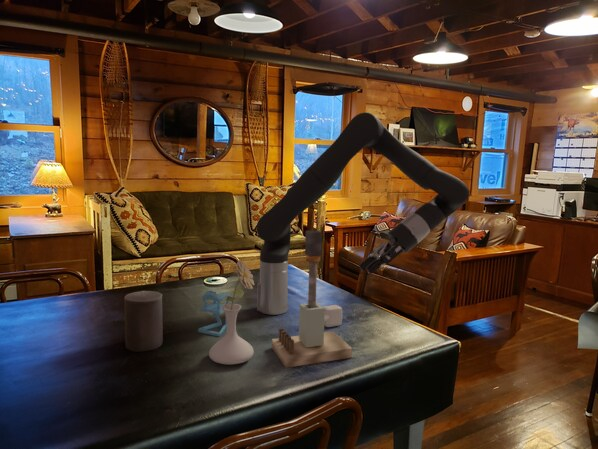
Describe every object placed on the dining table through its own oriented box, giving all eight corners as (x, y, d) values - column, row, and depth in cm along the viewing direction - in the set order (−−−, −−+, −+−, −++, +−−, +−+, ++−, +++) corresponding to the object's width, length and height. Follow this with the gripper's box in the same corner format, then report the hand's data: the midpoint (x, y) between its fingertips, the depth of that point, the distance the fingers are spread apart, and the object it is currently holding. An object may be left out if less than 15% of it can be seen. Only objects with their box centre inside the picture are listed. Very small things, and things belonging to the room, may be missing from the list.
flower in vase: (234, 373, 106) (233, 271, 102) (199, 361, 112) (197, 264, 108) (266, 353, 117) (267, 260, 113) (233, 343, 123) (232, 254, 119)
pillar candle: (127, 354, 115) (126, 298, 113) (123, 340, 123) (121, 288, 121) (166, 348, 119) (165, 294, 117) (159, 335, 128) (158, 284, 126)
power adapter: (311, 331, 132) (311, 313, 131) (303, 326, 136) (304, 307, 135) (343, 326, 137) (344, 307, 136) (335, 320, 141) (336, 303, 140)
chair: (235, 327, 135) (235, 288, 133) (219, 336, 127) (219, 296, 125) (214, 322, 138) (214, 285, 136) (197, 332, 130) (197, 292, 129)
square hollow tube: (305, 347, 115) (306, 310, 113) (298, 340, 119) (299, 304, 118) (323, 345, 116) (324, 308, 115) (316, 337, 121) (317, 302, 119)
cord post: (286, 367, 109) (287, 237, 104) (271, 347, 121) (272, 229, 116) (351, 357, 116) (356, 234, 111) (332, 339, 127) (335, 226, 122)
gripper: (393, 222, 131) (350, 257, 129) (409, 221, 116) (362, 260, 115) (408, 242, 131) (366, 277, 130) (427, 243, 117) (380, 283, 115)
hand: (364, 269), depth 122 cm, fingers open, 8 cm apart
